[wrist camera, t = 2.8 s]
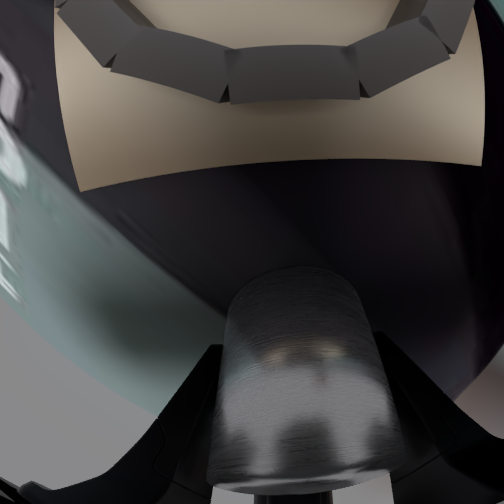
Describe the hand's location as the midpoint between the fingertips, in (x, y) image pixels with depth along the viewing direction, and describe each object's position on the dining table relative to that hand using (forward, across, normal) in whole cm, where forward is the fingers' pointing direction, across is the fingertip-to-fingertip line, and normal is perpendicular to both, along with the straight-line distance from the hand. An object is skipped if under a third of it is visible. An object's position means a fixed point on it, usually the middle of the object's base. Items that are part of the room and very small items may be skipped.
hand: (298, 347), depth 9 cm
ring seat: (+1, 0, -12) cm, 12 cm away
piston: (+1, 0, 0) cm, 1 cm away
